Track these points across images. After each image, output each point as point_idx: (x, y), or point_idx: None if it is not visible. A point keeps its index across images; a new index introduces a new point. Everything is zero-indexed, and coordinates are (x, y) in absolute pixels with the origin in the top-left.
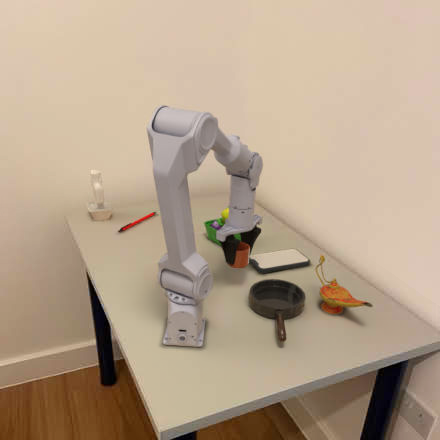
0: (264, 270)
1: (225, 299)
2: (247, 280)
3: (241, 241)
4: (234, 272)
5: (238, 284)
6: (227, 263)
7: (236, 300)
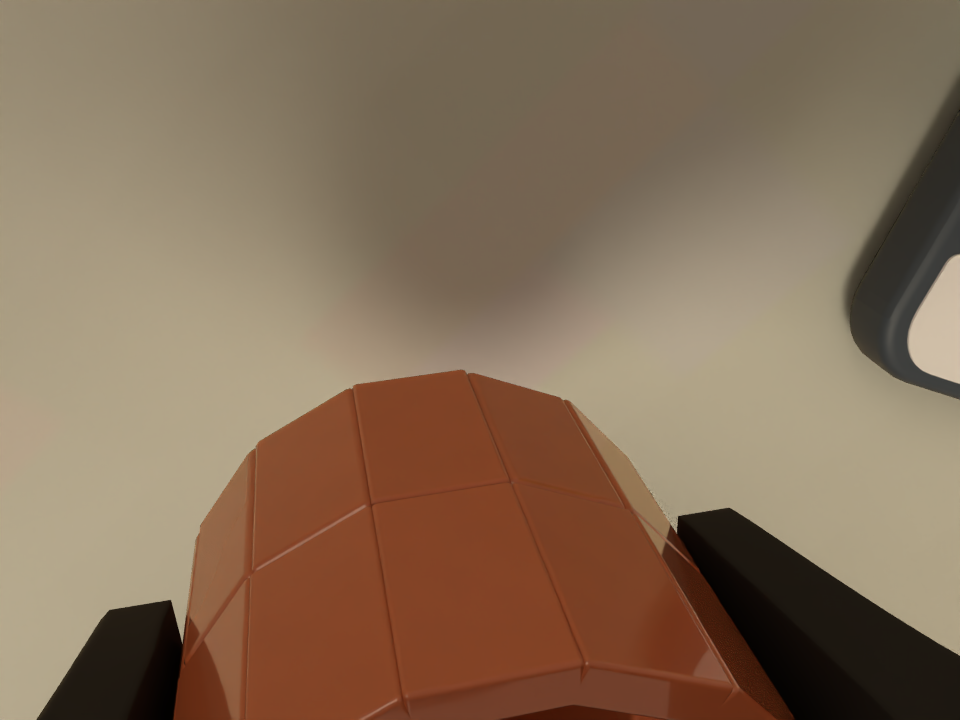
0: (892, 373)
1: (31, 489)
2: (600, 326)
3: (865, 717)
4: (652, 48)
5: (434, 328)
6: (198, 540)
7: (142, 568)
